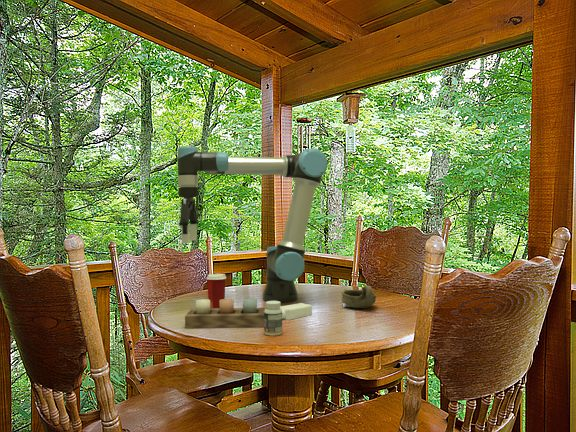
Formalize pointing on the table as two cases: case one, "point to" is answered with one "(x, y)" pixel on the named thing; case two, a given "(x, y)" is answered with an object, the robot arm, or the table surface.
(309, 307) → the cream rectangular block
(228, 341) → the table surface
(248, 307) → the button slate
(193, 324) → the console
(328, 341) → the table surface
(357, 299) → the bowl
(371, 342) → the table surface
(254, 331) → the table surface
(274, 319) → the pill bottle
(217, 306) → the paper cup
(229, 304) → the button terracotta
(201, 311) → the button cream
